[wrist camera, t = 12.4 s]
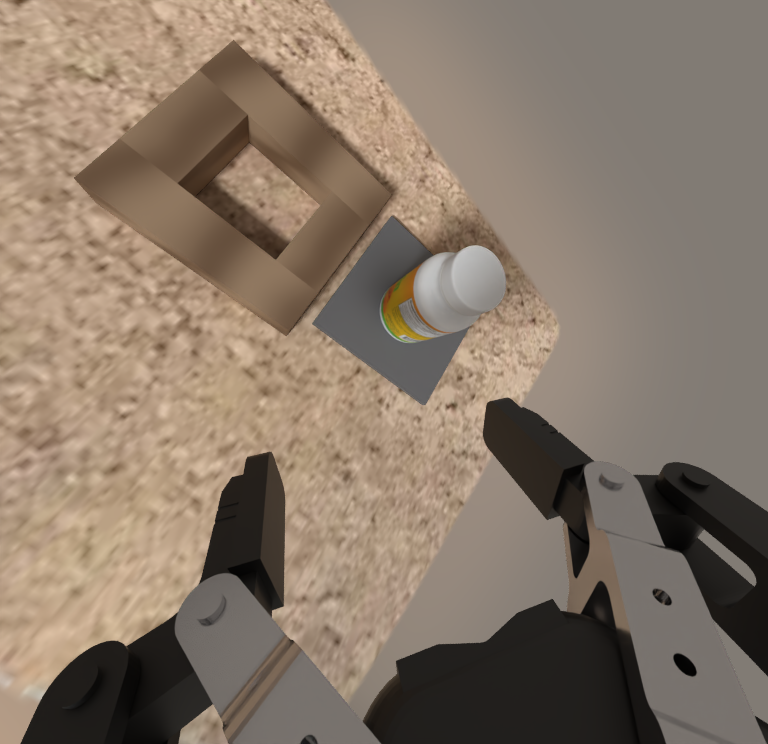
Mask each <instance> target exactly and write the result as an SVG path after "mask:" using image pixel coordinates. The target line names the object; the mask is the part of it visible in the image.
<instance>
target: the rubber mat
mask: <svg viewBox="0 0 768 744" xmlns="http://www.w3.org/2000/svg"><path fill="white" fill-rule="evenodd" d="M432 256H434V255H432V254H431V253H430V252H429V251H428V250H427V249H426V248H425V247H424V246H423V245H422V244H421V243H420V242H419V241H418V240H417V239H416V238H415V237H414V236H413V235H411V234H410V233H409V232H408V231H407V230H406V229H405V228H404V227H403V226H402V225H401V224H400V223H399V222H398V221H397V220H396V219H395V218H394V217H393V216H391V217H390V218H389V220H388V221H387V223H386V224H385V225H384V227H383V228H382V229H381V231H380V232H379V233H378V235H377V236H376V238H375V239H374V240H373V242H372V243H371V244H370V246H369V247H368V248H367V250H366V251H365V252H364V254H363V255H362V257H361V258H360V259H359V261H358V262H357V263H356V265H355V266H354V267H353V269H352V270H351V272H350V273H349V274H348V276H347V277H346V278H345V280H344V281H343V282H342V284H341V285H340V287H339V288H338V289H337V291H336V292H335V293H334V295H333V296H332V297H331V299H330V300H329V302H328V303H327V304H326V306H325V307H324V308H323V310H322V311H321V312H320V314H319V315H318V317H317V318H316V319H315V321H314V322H313V323H312V324H313V325H314V326H316V327H317V328H318V329H320V330H321V331H322V332H324V333H325V334H327V335H328V336H329V337H331V338H332V339H333V340H335V341H336V342H337V343H339V344H340V345H342V346H343V347H344V348H346V349H347V350H348V351H350V352H351V353H352V354H354V355H355V356H356V357H358V358H359V359H361V360H362V361H363V362H365V363H366V364H367V365H369V366H370V367H371V368H373V369H374V370H375V371H377V372H378V373H380V374H381V375H382V376H384V377H385V378H386V379H388V380H389V381H390V382H392V383H393V384H394V385H396V386H397V387H399V388H400V389H401V390H403V391H404V392H405V393H407V394H408V395H409V396H411V397H412V398H414V399H415V400H416V401H418V402H419V403H420V404H422V405H426V403H427V401H428V399H429V398H430V396H431V394H432V392H433V391H434V389H435V387H436V385H437V384H438V382H439V380H440V378H441V376H442V375H443V373H444V371H445V369H446V368H447V366H448V364H449V362H450V361H451V359H452V357H453V355H454V354H455V352H456V350H457V348H458V347H459V345H460V343H461V341H462V340H463V338H464V336H465V334H466V332H467V331H468V329H469V327H470V326H469V327H467V328H466V329H463V330H461V331H458V332H454V333H450V334H447V335H443V336H439V337H435V338H432V339H428V340H424V341H421V342H416V343H404V342H401V341H399V340H397V339H395V338H393V337H392V336H391V335H390V334H389V333H388V332H387V331H386V329H385V328H384V326H383V324H382V321H381V317H380V303H381V300H382V297H383V295H384V293H385V292H386V291H387V290H388V289H389V288H390V287H391V286H392V285H393V284H395V283H396V282H397V281H399V280H400V279H401V278H403V277H404V276H405V275H407V274H408V273H409V272H411V271H412V270H413V269H415V268H416V267H418V266H419V265H420V264H422V263H423V262H424V261H425V260H427V259H429V258H430V257H432Z"/></svg>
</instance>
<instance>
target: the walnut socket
mask: <svg viewBox="0 0 768 744" xmlns="http://www.w3.org/2000/svg"><path fill="white" fill-rule="evenodd" d="M249 142H250V143H251V144H252V145H253V146H254V147H255V148H257V149H258V150H259V151H260V152H261V153H262V154H263V155H264V156H266V157H267V158H268V159H269V160H270V161H271V162H272V163H273V164H275V165H276V166H277V167H278V168H279V169H280V170H281V171H283V172H284V173H285V174H286V175H287V176H288V177H289V178H290V179H292V180H293V181H294V182H295V183H296V184H297V185H298V186H300V187H301V188H302V189H303V190H304V191H305V192H306V193H307V194H309V195H310V196H311V197H312V198H313V199H314V200H315V201H317V202H318V203H319V204H320V205H321V206H320V207H319V208H318V209H317V211H316V212H315V213H314V214H313V216H312V217H311V218H310V219H309V220H308V222H307V223H306V224H305V225H304V226H303V228H302V229H301V230H300V231H299V232H298V234H297V235H296V236H295V237H294V238H293V240H292V241H291V242H290V243H289V245H288V246H287V247H286V248H285V249H284V251H283V252H282V253H281V254H280V255H279V257H278V258H277V259H276V260H275V259H274V258H273V257H271V256H270V255H269V254H267V253H266V252H265V251H264V250H262V249H261V248H260V247H258V246H257V245H256V244H255V243H253V242H252V241H251V240H249V239H248V238H247V237H246V236H244V235H243V234H242V233H240V232H239V231H238V230H237V229H235V228H234V227H233V226H231V225H230V224H229V223H228V222H226V221H225V220H224V219H222V218H221V217H220V216H219V215H217V214H216V213H215V212H213V211H212V210H211V209H210V208H208V207H207V206H206V205H204V204H203V203H202V202H201V201H199V200H198V199H197V198H195V196H196V195H197V194H198V193H199V192H200V191H201V190H202V189H203V188H204V187H205V186H206V185H207V184H208V183H209V182H210V181H211V180H212V179H213V178H214V177H215V176H216V175H217V174H218V173H219V172H220V171H221V170H222V169H223V168H224V167H225V166H226V165H227V164H228V163H229V162H230V161H231V160H232V159H233V158H234V157H235V156H236V155H237V154H238V153H239V152H240V151H241V150H242V149H243V148H244V147H245V146H246V145H247V144H248V143H249ZM74 179H75V180H76V181H77V182H78V183H79V184H80V185H81V187H82V188H83V189H84V190H85V191H86V192H87V193H88V194H89V195H90V197H91V198H92V199H93V200H94V201H95V202H96V203H97V204H99V205H100V206H101V207H103V208H104V209H106V210H107V211H109V212H110V213H111V214H113V215H114V216H116V217H117V218H119V219H120V220H121V221H123V222H124V223H126V224H127V225H129V226H130V227H131V228H133V229H134V230H136V231H137V232H138V233H140V234H141V235H143V236H144V237H146V238H147V239H148V240H150V241H151V242H153V243H154V244H156V245H157V246H158V247H160V248H161V249H163V250H164V251H166V252H167V253H168V254H170V255H171V256H173V257H174V258H176V259H177V260H178V261H180V262H181V263H183V264H184V265H186V266H187V267H188V268H190V269H191V270H193V271H194V272H196V273H197V274H198V275H200V276H201V277H203V278H204V279H206V280H207V281H208V282H210V283H211V284H213V285H214V286H216V287H217V288H218V289H220V290H221V291H223V292H224V293H226V294H227V295H228V296H230V297H231V298H233V299H234V300H236V301H237V302H238V303H240V304H241V305H243V306H244V307H246V308H247V309H248V310H250V311H251V312H253V313H254V314H256V315H257V316H258V317H260V318H261V319H263V320H264V321H266V322H267V323H268V324H270V325H271V326H273V327H274V328H276V329H277V330H278V331H280V332H281V333H283V334H284V335H285V336H287V335H288V333H289V332H290V331H291V329H292V328H293V327H294V325H295V324H296V323H297V321H298V320H299V319H300V317H301V316H302V315H303V313H304V312H305V311H306V309H307V308H308V307H309V305H310V304H311V303H312V301H313V300H314V299H315V297H316V296H317V295H318V293H319V292H320V291H321V289H322V288H323V287H324V285H325V284H326V283H327V281H328V280H329V279H330V277H331V276H332V275H333V273H334V272H335V271H336V269H337V268H338V267H339V265H340V264H341V263H342V261H343V260H344V259H345V257H346V256H347V255H348V253H349V252H350V251H351V249H352V248H353V247H354V245H355V244H356V243H357V241H358V240H359V239H360V237H361V236H362V235H363V233H364V232H365V231H366V229H367V228H368V227H369V226H370V224H371V223H372V222H373V220H374V219H375V218H376V216H377V215H378V214H379V212H380V211H381V209H382V208H383V207H384V205H385V204H386V202H387V201H388V199H389V198H390V197H391V195H392V194H391V193H390V192H389V191H388V190H387V189H385V188H384V187H383V186H382V185H381V184H380V183H379V182H378V181H377V180H376V179H375V178H374V177H373V176H372V175H371V174H370V173H369V172H368V171H367V170H366V169H365V168H364V167H363V166H362V165H361V164H360V163H359V162H358V161H357V160H356V159H355V158H354V157H353V156H352V155H351V154H350V153H349V152H348V151H347V150H346V149H345V148H344V147H343V146H341V145H340V144H339V143H338V142H337V141H336V140H335V139H334V138H333V137H332V136H331V135H330V134H329V133H328V132H327V131H326V130H325V129H324V128H323V127H322V126H321V125H320V124H319V123H318V122H317V121H316V120H315V119H314V118H313V117H312V116H311V115H310V114H309V113H308V112H307V111H306V110H305V109H304V108H303V107H302V106H301V105H300V104H299V103H297V102H296V101H295V100H294V99H293V98H292V97H291V96H290V95H289V94H288V93H287V92H286V91H285V90H284V89H283V88H282V87H281V86H280V85H279V84H278V83H277V82H276V81H275V80H274V79H273V78H272V77H271V76H270V75H269V74H268V73H267V72H266V71H265V70H264V69H263V68H262V67H261V66H260V65H259V64H258V63H257V62H256V61H255V60H253V59H252V58H251V57H250V56H249V55H248V54H247V53H246V52H245V51H244V50H243V49H242V48H241V47H240V46H239V45H238V44H237V43H236V42H235V41H234V40H233V41H232V42H231V43H230V44H229V45H227V46H226V47H225V48H224V49H223V50H222V51H220V52H219V53H218V54H217V55H216V56H215V57H214V58H212V59H211V60H210V61H209V62H208V63H207V64H205V65H204V66H203V67H202V68H201V69H200V70H198V71H197V72H196V73H195V74H194V75H193V76H192V77H190V78H189V79H188V80H187V81H186V82H185V83H183V84H182V85H181V86H180V87H179V88H178V89H176V90H175V91H174V92H173V93H172V94H171V95H169V96H168V97H167V98H166V99H165V100H164V101H163V102H161V103H160V104H159V105H158V106H157V107H156V108H154V109H153V110H152V111H151V112H150V113H149V114H147V115H146V116H145V117H144V118H143V119H142V120H141V121H139V122H138V123H137V124H136V125H135V126H134V127H132V128H131V129H130V130H129V131H128V132H127V133H125V134H124V135H123V136H122V137H121V138H120V139H118V140H117V141H116V142H115V143H114V144H113V145H112V146H110V147H109V148H108V149H107V150H106V151H105V152H103V153H102V154H101V155H100V156H99V157H98V158H96V159H95V160H94V161H93V162H92V163H91V164H90V165H88V166H87V167H86V168H85V169H84V170H83V171H81V172H80V173H79V174H78V175H77V176H76V177H74Z"/></svg>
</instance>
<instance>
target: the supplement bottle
mask: <svg viewBox="0 0 768 744" xmlns="http://www.w3.org/2000/svg"><path fill="white" fill-rule="evenodd" d="M505 290H506V277H505V272H504V269H503V266H502V264H501V262H500V261H499V259H498V258H497V256H496V255H495V254H494V253H493V252H492V251H490V250H489V249H487V248H485V247H482V246H478V245H472V246H468V247H465V248H463V249H462V250H460V251H458V252H457V253H453V252H443V253H439V254H436V255H434V256H432V257H430V258H429V259H427V260H425V261H424V262H423V263H422V264H420V265H419V266H418V267H416V268H415V269H413V270H412V271H411V272H409V273H408V274H407V275H405V276H404V277H403V278H401V279H400V280H399V281H397V282H396V283H395V284H393V285H392V286H391V287H390V288H389V289H388V290H387V291H386V292H385V293H384V295H383V297H382V300H381V303H380V317H381V321H382V324H383V326H384V328H385V329H386V331H387V332H388V333H389V334H390V335H391V336H392V337H393V338H395V339H397V340H399V341H401V342H404V343H416V342H421V341H424V340H428V339H432V338H435V337H439V336H443V335H447V334H450V333H454V332H458V331H461V330H463V329H466V328H467V327H469V326H471V325H472V324H473V323H474V322H475V321H476V320H477V319H478V318H479V316H480V315H481V314H482V313H485V312H488V311H490V310H492V309H494V308H495V307H497V306H498V305H499V303H500V302H501V301H502V299H503V297H504V294H505Z"/></svg>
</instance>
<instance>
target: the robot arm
mask: <svg viewBox="0 0 768 744" xmlns="http://www.w3.org/2000/svg"><path fill="white" fill-rule="evenodd" d="M483 437H484V441H485V444H486V446H487V447H488V449H489V450H490V451H491V452H492V453H493V455H494V456H495V457H496V458H497V459H498V461H499V462H500V463H501V464H502V466H503V467H504V468H505V469H506V470H507V472H508V473H509V474H510V475H511V476H512V478H513V479H514V480H515V481H516V483H517V484H518V485H519V486H520V488H521V489H522V490H523V491H524V492H525V494H526V495H527V496H528V497H529V498H530V500H531V501H532V502H533V503H534V505H535V506H536V507H537V508H538V510H539V511H540V512H541V513H542V514H543V516H544V517H545V518H546V519H547V520H549V519H551V518H554V517H557V516H561V518H562V519H563V520H564V524H563V532H564V541H565V551H566V559H567V568H568V577H569V594H568V601H567V612H566V611H560V609H559V608H558V606H557V605H556V603H555V602H554V600H553V599H551V600H549V601H546V602H544V603H541V604H539V605H536V606H534V607H531V608H528V609H526V610H523V611H521V612H518V613H517V614H516V615H515V616H514V617H512V618H511V619H510V620H509V621H508V622H507V623H506V624H505V625H504V626H503V627H502V628H501V629H500V630H499V631H497V632H496V633H495V634H494V635H493V636H492V637H491V638H490V639H489V640H487V641H486V642H483V643H466V644H465V643H464V644H438V645H435V646H433V647H430V648H428V649H425V650H422V651H420V652H418V653H415V654H412V655H410V656H407V657H405V658H403V659H400V660H397V661H396V667H397V675H396V676H394V677H393V678H392V679H391V680H390V681H389V682H388V683H387V684H386V685H385V686H384V688H383V689H382V690H381V691H380V692H379V694H378V695H377V697H376V698H375V700H374V701H373V703H372V704H371V706H370V708H369V710H368V712H367V714H366V716H365V717H364V720H363V722H362V721H361V719H360V718H359V717H358V716H357V714H356V713H355V712H354V711H353V710H352V709H351V708H350V706H349V705H348V704H347V702H346V701H345V700H344V699H343V698H342V696H341V695H340V694H339V693H338V692H337V691H336V689H335V688H334V687H333V686H332V685H331V683H330V682H329V681H328V680H327V679H326V677H325V676H324V675H323V674H322V673H321V671H320V670H319V669H318V668H317V667H316V665H315V664H314V663H313V662H312V661H311V660H310V658H309V657H308V656H307V655H306V654H305V652H304V651H303V650H302V649H301V648H300V647H299V646H298V645H297V644H296V643H295V642H294V641H293V640H290V639H289V638H288V637H287V635H286V634H285V633H284V632H283V631H282V630H281V628H280V627H279V626H278V625H277V624H276V622H275V621H274V620H273V619H272V610H274V609H277V608H280V607H283V606H284V548H285V492H284V487H283V483H282V480H281V477H280V474H279V471H278V468H277V465H276V462H275V459H274V456H273V454H272V452H267V453H263V454H258V455H254V456H250V457H247V459H246V462H245V468H244V474H243V475H239V476H235V477H232V478H231V479H230V481H229V482H228V484H227V485H226V487H225V488H224V490H223V491H222V493H221V497H220V502H219V506H218V511H217V514H216V518H215V524H214V527H213V531H212V535H211V540H210V544H209V548H208V552H207V556H206V561H205V565H204V569H203V573H202V577H201V580H200V583H199V585H198V586H197V587H196V588H195V589H194V590H193V591H192V592H191V593H190V594H189V595H188V596H187V598H186V599H185V601H184V602H183V604H182V605H181V607H180V609H179V612H178V613H176V614H175V615H174V616H173V617H172V618H170V619H169V620H167V621H166V622H164V623H163V624H161V625H160V626H158V627H156V628H155V629H153V630H152V631H150V632H149V633H147V634H145V635H144V636H142V637H141V638H139V639H137V640H136V641H134V642H133V643H131V644H130V645H128V646H125V645H124V644H123V643H121V642H119V641H106V642H103V643H100V644H98V645H95V646H93V647H91V648H90V649H88V650H86V651H85V652H83V653H82V654H81V655H79V656H78V657H77V658H76V659H74V660H73V661H72V662H71V663H70V664H69V665H68V666H67V667H66V668H65V669H64V670H63V671H62V672H61V673H60V674H59V675H58V676H57V677H56V678H55V680H54V681H53V682H52V684H51V685H50V686H49V688H48V689H47V691H46V692H45V694H44V696H43V697H42V699H41V701H40V703H39V705H38V707H37V709H36V711H35V713H34V716H33V718H32V720H31V722H30V724H29V727H28V729H27V731H26V733H25V735H24V737H23V739H22V742H21V744H178V743H179V737H180V731H181V729H182V728H183V727H184V726H186V725H187V724H188V723H189V722H191V721H192V720H193V719H194V718H196V717H197V716H198V715H199V714H201V713H202V712H203V711H204V710H206V709H207V708H208V707H209V706H211V705H212V704H213V705H214V706H215V708H216V710H217V712H218V714H219V716H220V718H221V720H222V722H223V731H224V734H225V737H226V739H227V741H228V743H229V744H768V724H767V723H766V722H764V721H762V720H761V719H759V718H758V717H756V716H754V714H753V711H752V709H751V707H750V705H749V702H748V700H747V698H746V695H745V693H744V691H743V688H742V686H741V684H740V682H739V679H738V677H737V675H736V673H735V670H734V668H733V665H732V663H731V661H730V658H729V656H728V654H727V652H726V649H725V647H724V645H723V642H722V640H721V638H720V635H719V633H718V631H717V629H716V626H715V624H714V622H713V620H714V621H715V622H716V623H717V624H718V625H719V626H720V627H721V628H722V629H723V630H724V631H725V632H726V633H727V635H728V636H729V637H730V638H731V639H732V640H733V641H734V642H735V643H736V644H737V645H738V646H739V647H740V648H741V649H742V650H743V651H744V652H745V653H746V654H747V655H748V656H749V657H750V658H751V659H752V660H753V661H754V662H755V663H756V665H757V666H759V668H760V669H761V670H762V671H763V672H764V673H765V674H766V675H767V676H768V512H767V511H766V510H764V509H763V508H761V507H760V506H758V505H757V504H755V503H754V502H752V501H751V500H749V499H748V498H746V497H745V496H743V495H742V494H740V493H739V492H737V491H736V490H735V489H733V488H732V487H730V486H729V485H727V484H726V483H724V482H723V481H721V480H720V479H718V478H717V477H715V476H714V475H712V474H711V473H709V472H707V471H705V470H703V469H701V468H699V467H696V466H693V465H690V464H685V463H679V462H673V463H668V464H666V465H665V466H664V467H663V469H662V470H661V472H660V474H659V475H632V474H631V473H630V472H628V471H627V470H625V469H623V468H621V467H619V466H617V465H614V464H611V463H608V462H601V461H597V462H595V461H593V460H592V459H591V458H590V457H588V456H587V455H586V454H585V453H584V452H582V451H581V450H580V449H579V448H578V447H577V446H575V445H574V444H573V443H572V442H571V441H569V440H568V439H567V438H566V437H565V436H563V435H562V434H561V433H558V431H557V430H556V429H555V428H554V427H553V426H552V425H549V424H548V422H547V421H546V420H544V419H543V418H542V417H541V416H539V415H538V414H537V413H534V412H533V411H530V410H528V409H526V408H524V407H523V408H521V407H520V406H518V405H517V404H516V403H515V402H514V401H513V400H511V399H510V398H503V399H498V400H494V401H490V402H488V403H487V405H486V412H485V420H484V428H483ZM704 529H705V530H706V531H707V532H708V533H709V534H711V535H712V536H713V537H714V538H716V539H717V540H718V541H719V542H720V543H722V544H723V545H724V546H725V547H726V548H728V549H729V550H730V551H731V552H733V553H734V554H735V555H736V556H737V557H739V558H740V559H741V560H742V561H743V562H744V563H746V564H747V565H748V566H749V567H750V568H751V570H752V571H753V573H754V574H755V577H756V582H757V583H756V585H755V587H754V586H753V585H752V584H750V583H749V582H748V581H747V580H746V579H744V578H743V577H742V576H741V575H740V574H739V573H737V571H735V570H734V569H733V568H732V567H731V566H730V565H728V564H727V563H726V562H725V561H724V560H723V559H721V558H720V557H719V556H718V555H717V554H716V553H715V552H713V551H712V550H711V549H710V548H709V547H708V546H706V545H705V544H704V543H703V542H702V541H701V540H699V539H698V536H699V535H700V534H701V532H702V531H703V530H704Z"/></svg>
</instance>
